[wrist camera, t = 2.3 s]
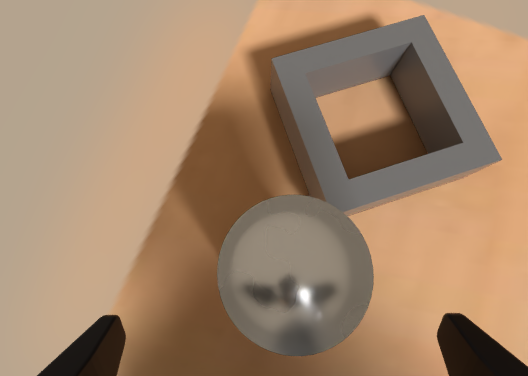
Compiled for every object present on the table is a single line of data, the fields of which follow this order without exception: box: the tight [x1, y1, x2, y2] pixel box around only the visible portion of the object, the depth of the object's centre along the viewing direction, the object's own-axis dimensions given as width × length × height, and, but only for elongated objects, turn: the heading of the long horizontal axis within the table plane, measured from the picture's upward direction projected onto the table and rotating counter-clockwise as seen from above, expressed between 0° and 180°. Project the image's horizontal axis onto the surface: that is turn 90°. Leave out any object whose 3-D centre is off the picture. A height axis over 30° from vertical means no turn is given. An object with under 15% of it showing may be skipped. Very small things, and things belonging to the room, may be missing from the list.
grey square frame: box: [270, 15, 502, 216], centre depth 21 cm, size 10×10×4 cm
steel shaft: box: [217, 195, 374, 356], centre depth 15 cm, size 5×5×10 cm
